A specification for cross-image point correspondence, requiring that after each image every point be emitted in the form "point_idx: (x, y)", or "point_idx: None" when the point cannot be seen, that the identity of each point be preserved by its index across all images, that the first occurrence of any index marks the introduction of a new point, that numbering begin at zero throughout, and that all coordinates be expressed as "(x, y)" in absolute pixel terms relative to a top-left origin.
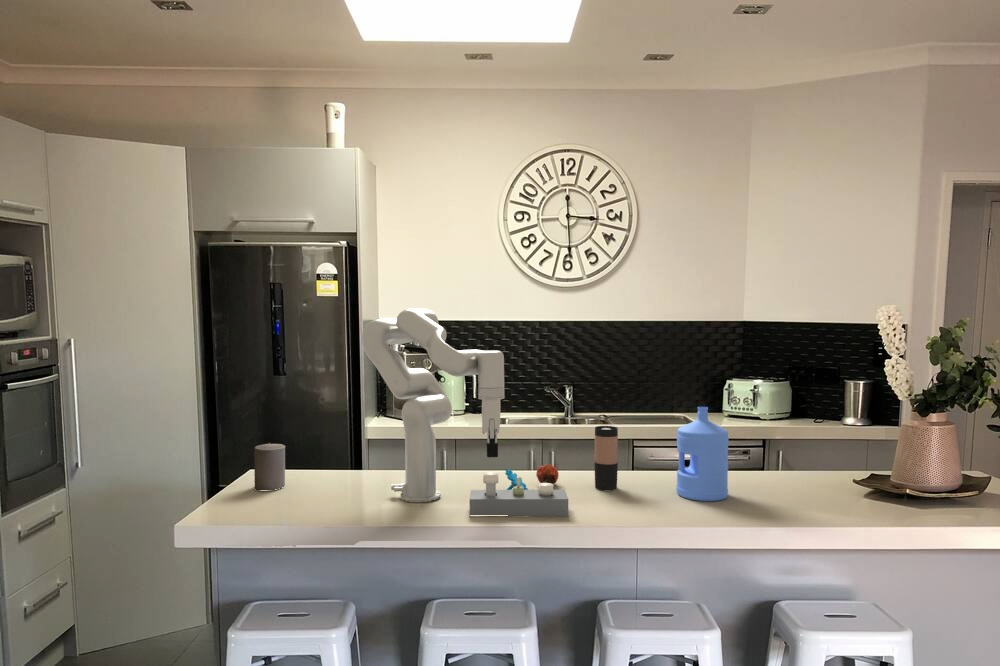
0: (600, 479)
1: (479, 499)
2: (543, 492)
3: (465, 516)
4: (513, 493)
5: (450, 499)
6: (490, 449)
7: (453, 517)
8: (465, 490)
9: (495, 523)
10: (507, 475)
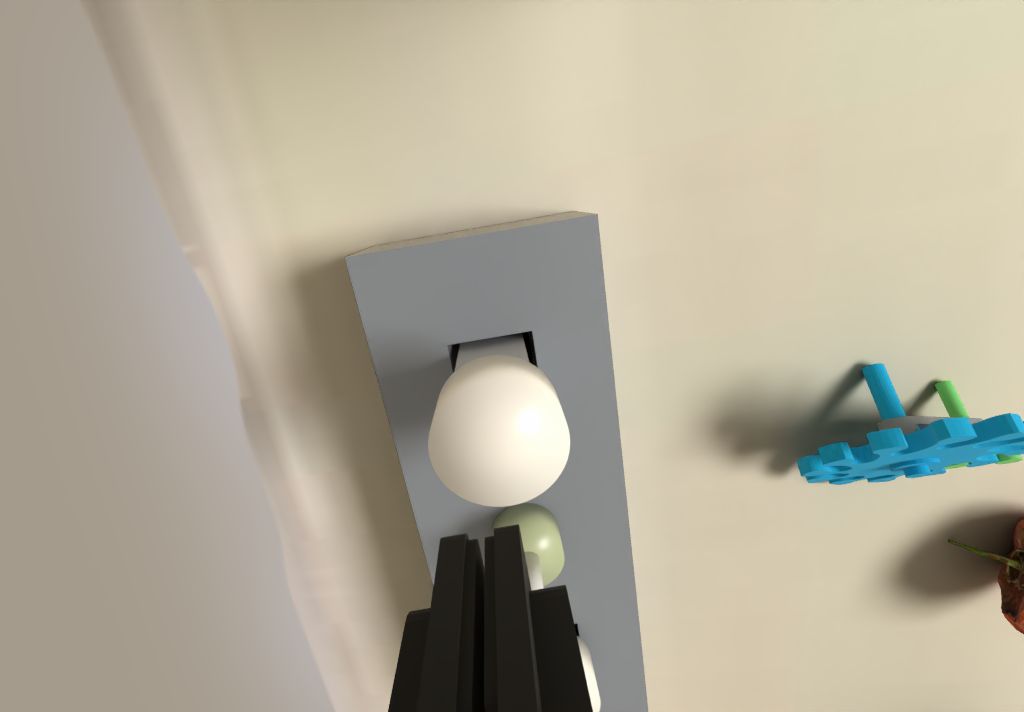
0: None
1: (363, 325)
2: None
3: (377, 219)
4: (506, 514)
5: (729, 30)
6: (399, 686)
7: (340, 148)
8: (951, 94)
9: (301, 400)
10: (927, 427)
